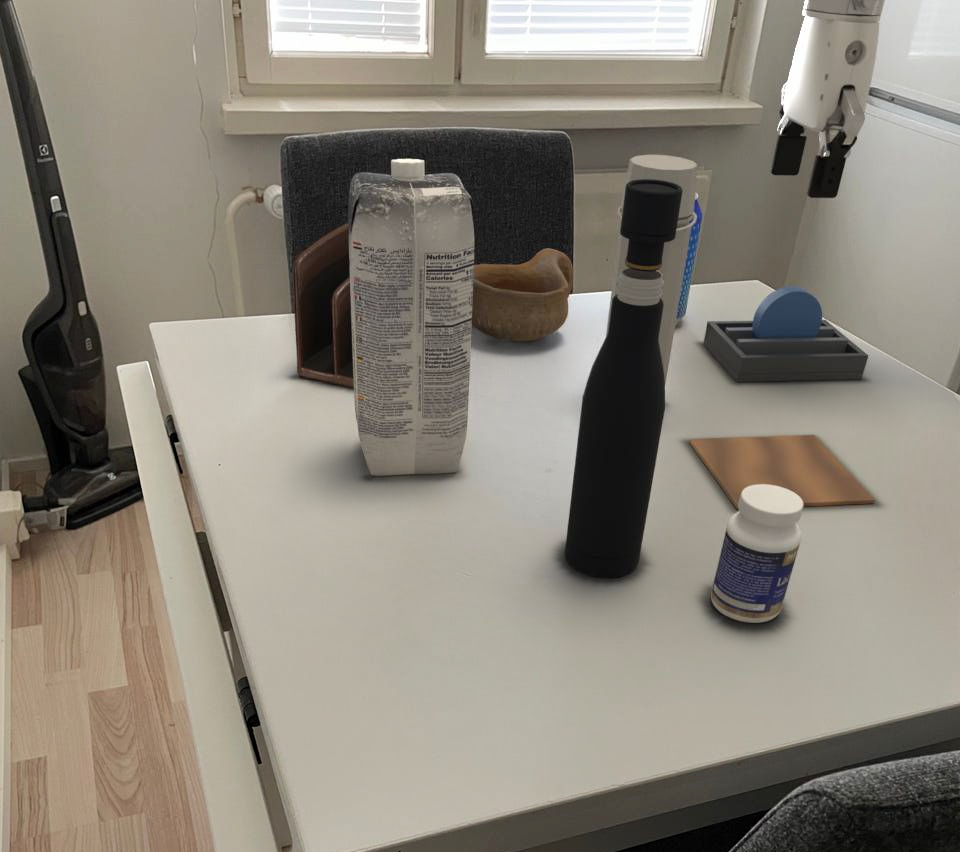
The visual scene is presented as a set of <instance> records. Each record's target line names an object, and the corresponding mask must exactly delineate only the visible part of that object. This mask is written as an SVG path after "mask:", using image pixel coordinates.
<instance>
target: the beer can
mask: <svg viewBox="0 0 960 852" xmlns="http://www.w3.org/2000/svg"><path fill="white" fill-rule="evenodd" d="M698 199H699V194H698V193H697V192H696V191H695V204H694V212H695V214H696V215H697V219H696V223H695V224H694V225H693V226H692V228H691V234H690V240H689V246H688V252H687V258H686V264H685V270H684V276H683V282H682V288H681V294H680V300H679V306H678V312H677V318H676V324H675V327H676V326H677V325H678V324H679V322H680V321H681V320H682V319H683V318H684V317H685V316H686V313H687V309H688V304H689V303H688V301H689V296H690V291H691V284H692V279H693V274H694V267H695V266H694V265H695V262H696V256H697V250H698V244H699V239H700V233H701V228H702V227H701V226H702V221H703V212H702V209H701V206H700V204H699V200H698ZM693 219H694V218H693ZM693 219H692V220H691V221H689V223H692V221H693Z"/></svg>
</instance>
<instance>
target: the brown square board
mask: <svg viewBox="0 0 960 852" xmlns="http://www.w3.org/2000/svg"><path fill="white" fill-rule="evenodd" d="M688 442H689V444H690V446H691V447H692V448H693V450H694V452H695V453H696V454H697V455H698V457H699V459H700V460H701V461H702V462H703V464H704V465H705V467H706V468H707V470H708V471H709V473H710V474H711V475H712V477H713V478H714V479H715V481H716V482H717V484H718V485H719V486H720V488H721V489H722V491H723V493H724V494H725V495H726V496H727V498H728V499H729V500H730V502H731V503H732V505H733V506H734V508H735V509H736V510H739V509H738V503H739V499H740V496H741V493H742V491H743V490H744V489H745V488H746V487H748V486H751V485H758V484H767V485H774V486H779V487H782V488H786V489H788V490H790V491H792V492H794V493H796V494H797V495H798V496H799V497H800V498H801V499H802V501H803V507H824V506H849V505H867V504H868V505H869V504H870V505H871V504H875V502H876V499H875V498H874V497H873V496H872V495H871V494H870V492H868V490H867V489H866V488H865V487H864V486H863V484H861V483H860V482H859V481H858V479H856V478H855V477H854V475H853V474H851V472H850V471H849V470H848V469H847V468H846V467H845V466H844V465H843V464H842V463H841V462H840V461H839V460H838V458H836V457H835V455H833V453H832V452H831V451H830V450H829V449H828V448H827V447H826V446H825V445H824V444H823V442H822V441H820V440H819V438H818V437H817V436H816V435H815V434H804V435H802V434H801V435H800V434H799V435H773V436H772V435H771V436H769V435H768V436H740V437H708V438H689V439H688Z"/></svg>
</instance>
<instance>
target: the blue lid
mask: <svg viewBox="0 0 960 852" xmlns="http://www.w3.org/2000/svg"><path fill="white" fill-rule="evenodd" d="M822 320H823V310H822V306H821V304H820V301H818V298H817V297H815V296H814V295H813V294H811V292H809V291H808V290H806V289H805V288H803V287H802V286H801V287H800V286H798V285H797V286H796V285H787V286H782V287H780V288H777V289H775V290H774V291H772V292H771V293H769V294H768V295H767V296H765V298H763V300H762V301H761V302H760V303H759V305H758V306H757V308H756V310H755V312H754V315H753V318H752V321H753V325H752V327H753V334H754V337H755V339H773V338H815V337H816V335H817V333H818V331H819V329H820V326H821V322H822Z"/></svg>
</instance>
